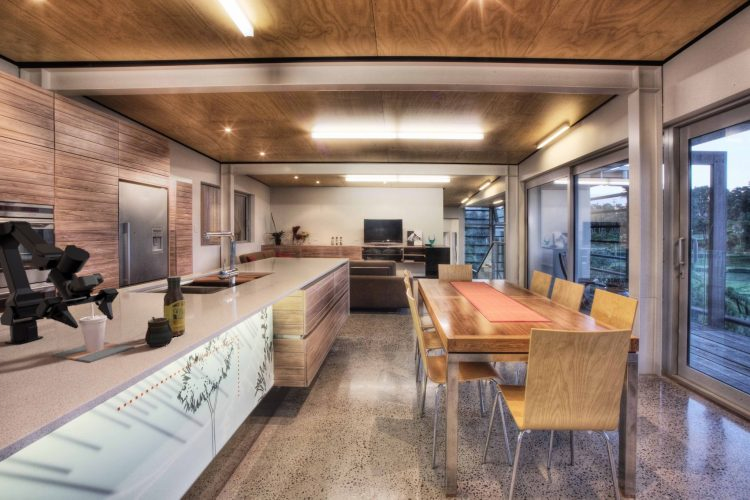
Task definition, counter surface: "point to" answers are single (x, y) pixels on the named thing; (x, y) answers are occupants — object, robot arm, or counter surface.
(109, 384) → the counter surface
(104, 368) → the counter surface
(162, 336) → the mate gourd
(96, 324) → the smoothie
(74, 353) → the slate board
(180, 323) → the sauce bottle
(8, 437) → the counter surface
